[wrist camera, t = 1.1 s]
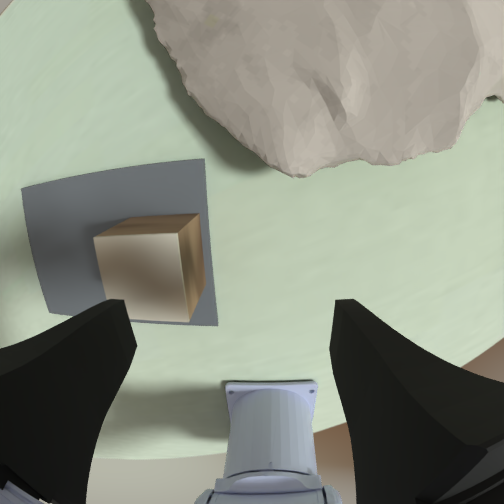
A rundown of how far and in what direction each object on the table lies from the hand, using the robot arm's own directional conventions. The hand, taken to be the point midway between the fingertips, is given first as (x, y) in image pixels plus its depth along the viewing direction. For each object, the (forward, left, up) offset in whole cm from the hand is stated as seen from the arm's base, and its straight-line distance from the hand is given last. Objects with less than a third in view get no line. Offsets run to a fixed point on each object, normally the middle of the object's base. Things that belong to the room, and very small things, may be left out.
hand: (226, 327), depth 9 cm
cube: (-1, +5, -10) cm, 12 cm away
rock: (+17, -10, -11) cm, 23 cm away
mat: (-1, +11, -10) cm, 15 cm away
